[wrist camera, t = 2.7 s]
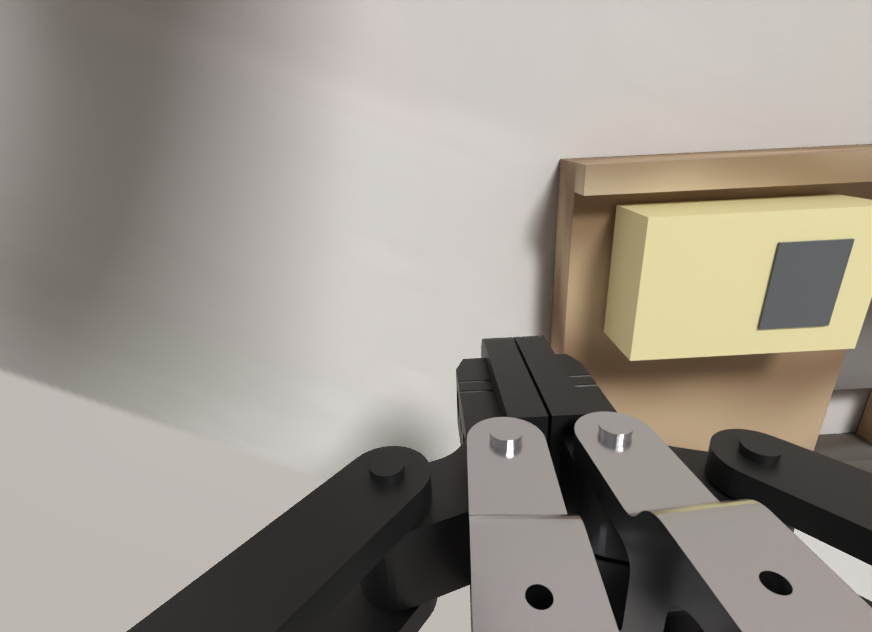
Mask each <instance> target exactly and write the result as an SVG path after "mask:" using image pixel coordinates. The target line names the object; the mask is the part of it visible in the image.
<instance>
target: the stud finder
mask: <svg viewBox="0 0 872 632" xmlns="http://www.w3.org/2000/svg"><path fill="white" fill-rule="evenodd" d="M871 298H872V200H870V199H864V198H858V197H851V196H845V195H839V194H826V195H806V196H786V197H766V198H746V199H726V200H706V201H686V202H666V203H646V204H626V205H617V207H616V216H615V226H614V236H613V246H612V255H611V265H610V275H609V285H608V294H607V304H606V314H605V324H604V333H605V334H606V335H607V336H608V337H609V338H610V339H611V340H612V342H613V343H614V344H615V345H616V346H617V347H618V348H619V349H620V350H621V351H622V353H623V354H624V355H625V356H626V357H627V358H628V359H629V360H630V361H637V360H656V359H674V358H692V357H710V356H728V355H746V354H764V353H782V352H800V351H819V350H837V349H855V346H856V343H857V340H858V337H859V334H860V331H861V328H862V325H863V322H864V319H865V316H866V313H867V310H868V307H869V304H870V301H871Z"/></svg>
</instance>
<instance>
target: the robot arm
mask: <svg viewBox="0 0 872 632" xmlns="http://www.w3.org/2000/svg"><path fill="white" fill-rule="evenodd" d="M456 380H457V415H458V429H459V436H460V444H461V446H460V447H459V448H458V449H457V450H456V451H455V452H453V453H452V454H450V455H448V456H446V457H444V458H441V459H439V460H436V461H432V462H429V463H428V461H427V459H426V458H425V457H424V456H423V455H422V454H421V453H419V452H417V451H415V450H413V449H410V448H406V447H400V446H387V447H381V448H377V449H373V450H371V451H368V452H366V453H364V454H362V455H361V456H359V457H358V458H356V459H355V460H354V461H352V462H351V463H350V464H348V465H347V466H346V467H344V468H343V469H342V470H340V471H339V472H338V473H336V474H335V475H334V476H332V477H331V478H330V479H328V480H327V481H326V482H324V483H323V484H322V485H321V486H319V487H318V488H317V489H315V490H314V491H313V492H311V493H310V494H309V495H307V496H306V497H305V498H303V499H302V500H301V501H299V502H298V503H297V504H295V505H294V506H293V507H291V508H290V509H289V510H287V511H286V512H285V513H283V514H282V515H281V516H279V517H278V518H277V519H275V520H274V521H273V522H271V523H270V524H269V525H268V526H266V527H265V528H263V529H262V530H261V531H260V532H258V533H257V534H256V535H254V536H253V537H252V538H250V539H249V540H248V541H246V542H245V543H244V544H242V545H241V546H240V547H238V548H237V549H236V550H235V551H233V552H232V553H231V554H229V555H228V556H226V557H225V558H224V559H223V560H221V561H220V562H218V563H217V564H216V565H214V566H213V567H212V568H210V569H209V570H208V571H207V572H205V573H204V574H203V575H201V576H200V577H199V578H197V579H196V580H195V581H193V582H192V583H191V584H189V585H188V586H187V587H185V588H184V589H183V590H181V591H180V592H179V593H177V594H176V595H175V596H173V597H172V598H171V599H169V600H168V601H167V602H165V603H164V604H163V605H161V606H160V607H159V608H157V609H156V610H155V611H153V612H152V613H151V614H150V615H148V616H147V617H145V618H144V619H143V620H142V621H140V622H139V623H138V624H136V625H135V626H134V627H132V628H131V629H130V630H128V631H127V632H418V631H419V630H420V628H421V627H422V626H423V624H424V623H425V622H426V620H427V619H428V618H429V616H430V615H431V613H432V612H433V610H434V608H435V605H436V602H437V597H440V596H442V595H445V594H447V593H450V592H452V591H455V590H457V589H460V588H462V587H465V586H467V585H470V603H471V632H872V602H871V601H869V600H867V599H866V598H864V597H862V596H860V595H858V594H857V593H856V592H855V591H854V590H853V589H852V588H851V587H849V586H848V585H847V584H846V583H845V582H844V581H843V580H842V579H841V578H840V577H839V576H838V575H837V574H836V573H835V572H834V571H833V570H832V569H831V568H830V567H829V566H828V565H827V564H825V563H824V562H823V561H822V560H821V559H820V558H819V557H818V556H817V555H816V554H815V553H814V552H813V551H812V550H811V549H810V548H809V547H808V546H807V545H806V544H805V543H804V542H803V541H801V540H800V539H799V538H798V537H797V536H796V535H795V534H794V533H793V532H794V528H795V529H797V530H800V531H802V532H804V533H806V534H808V535H810V536H812V537H814V538H816V539H818V540H820V541H822V542H824V543H826V544H828V545H830V546H832V547H835V548H837V549H839V550H841V551H843V552H845V553H847V554H849V555H851V556H853V557H855V558H857V559H859V560H861V561H863V562H865V563H867V564H870V565H872V473H870V472H867V471H864V470H862V469H859V468H856V467H854V466H851V465H848V464H846V463H843V462H841V461H838V460H835V459H833V458H830V457H827V456H825V455H822V454H819V453H817V452H814V451H811V450H809V449H806V448H803V447H801V446H798V445H795V444H793V443H790V442H787V441H785V440H782V439H779V438H777V437H774V436H771V435H768V434H765V433H762V432H758V431H753V430H747V429H726V430H722V431H719V432H717V433H715V434H714V435H713V436H712V437H711V440H710V444H709V449H708V452H707V451H700V450H693V449H687V448H680V447H673V446H668V445H666V444H665V443H664V442H663V440H662V439H661V438H660V437H659V436H658V435H657V434H656V433H655V432H654V431H653V430H652V429H651V428H650V427H649V426H648V425H647V424H645V423H644V422H642V421H640V420H638V419H636V418H634V417H632V416H629V415H625V414H621V413H617V411H616V410H615V409H614V407H613V406H612V404H611V403H610V402H609V400H608V399H607V398H606V396H605V395H604V393H603V392H602V391H601V389H600V388H599V386H597V384H596V382H595V381H594V379H593V378H592V377H590V374H589V372H588V371H587V370H586V368H585V367H584V365H583V364H582V363H581V362H579V361H578V360H576V359H574V358H573V357H571V356H569V355H568V354H555V353H554V351H553V350H552V348H551V347H550V345H549V343H548V342H547V340H546V339H545V337H544V336H527V337H513V338H512V337H509V338H490V339H482V346H481V358H475V359H463V360H462V362H461V363H460V365H459V366H458V368H457V369H456Z"/></svg>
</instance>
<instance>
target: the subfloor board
mask: <svg viewBox="0 0 872 632" xmlns="http://www.w3.org/2000/svg"><path fill="white" fill-rule="evenodd" d="M826 194H839V195H845V196H851V197H858V198H864V199H870V200H872V144H863V145H842V146H821V147H801V148H780V149H759V150H739V151H718V152H697V153H677V154H656V155H635V156H615V157H594V158H573V159H560V174H559V192H558V210H557V228H556V247H555V265H554V283H553V301H552V319H551V337H550V347H551V348H552V350H553V351H554V353H555V354H568V355H569V356H571V357H573V358H574V359H576V360H578V361H579V362H581V363H582V364H583V365H584V367H585V368H586V370H587V371H588V372H589V374H590V377H592V378H593V379H594V381H595V382H596V384H597V386H599V388H600V389H601V391H602V392H603V393H604V395H605V396H606V398H607V399H608V400H609V402H610V403H611V404H612V406H613V407H614V409H615V410H616V411H617V413H621V414H625V415H629V416H632V417H634V418H636V419H638V420H640V421H642V422H644V423H645V424H647V425H648V426H649V427H650V428H651V429H652V430H653V431H654V432H655V433H656V434H657V435H658V436H659V437H660V438H661V439H662V440H663V442H664V443H665V444H666V445H668V446H673V447H680V448H687V449H693V450H700V451H707V452H708V449H709V444H710V440H711V437H712V436H713V435H714V434H715V433H717V432H719V431H722V430H726V429H747V430H753V431H758V432H762V433H765V434H768V435H771V436H774V437H777V438H779V439H782V440H785V441H787V442H790V443H793V444H795V445H798V446H801V447H803V448H806V449H809V450H811V451H814V452H817V453H819V454H822V455H825V456H827V457H830V458H833V459H835V460H838V461H841V462H843V463H846V464H848V465H851V466H854V467H856V468H859V469H862V470H864V471H867V472H870V473H872V390H871V393H870V396H869V399H868V401H867V404H866V407H865V410H864V412H863V415H862V418H861V421H860V423H859V426H858V429H857V432H856V433H844V434H827V435H819V433H820V430H821V426H822V423H823V420H824V417H825V414H826V411H827V408H828V405H829V402H830V399H831V396H832V393H833V390H843V389H860V388H872V298H871V301H870V304H869V307H868V310H867V313H866V316H865V319H864V322H863V325H862V328H861V331H860V334H859V337H858V340H857V343H856V346H855V349H837V350H819V351H800V352H782V353H764V354H746V355H728V356H710V357H692V358H674V359H656V360H637V361H630V360H629V359H628V358H627V357H626V356H625V355H624V354H623V353H622V351H621V350H620V349H619V348H618V347H617V346H616V345H615V344H614V343H613V342H612V340H611V339H610V338H609V337H608V336H607V335H606V334H605V333H604V324H605V314H606V304H607V294H608V285H609V275H610V265H611V255H612V246H613V236H614V226H615V216H616V207H617V205H626V204H646V203H666V202H686V201H706V200H726V199H746V198H766V197H786V196H806V195H826Z"/></svg>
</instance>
